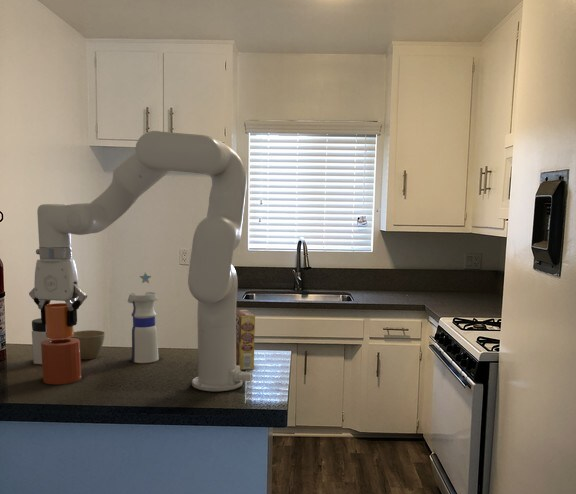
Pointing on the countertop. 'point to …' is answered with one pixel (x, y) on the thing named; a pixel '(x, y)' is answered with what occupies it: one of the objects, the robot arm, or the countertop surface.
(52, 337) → the orange cup
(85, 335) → the beige bowl
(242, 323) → the candy box
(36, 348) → the jar
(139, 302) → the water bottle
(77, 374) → the terracotta jar
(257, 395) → the countertop surface
